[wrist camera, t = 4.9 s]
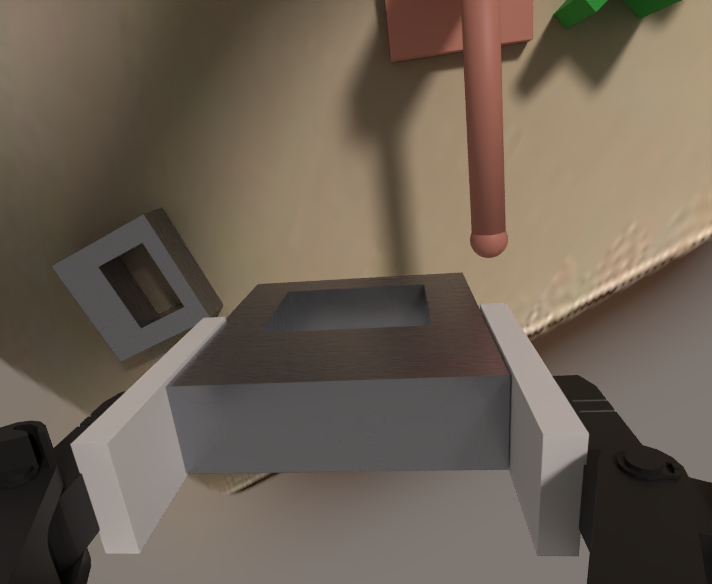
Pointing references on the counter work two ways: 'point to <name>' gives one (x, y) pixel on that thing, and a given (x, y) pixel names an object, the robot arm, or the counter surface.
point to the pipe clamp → (585, 3)
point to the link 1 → (122, 294)
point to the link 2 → (346, 381)
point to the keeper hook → (470, 87)
